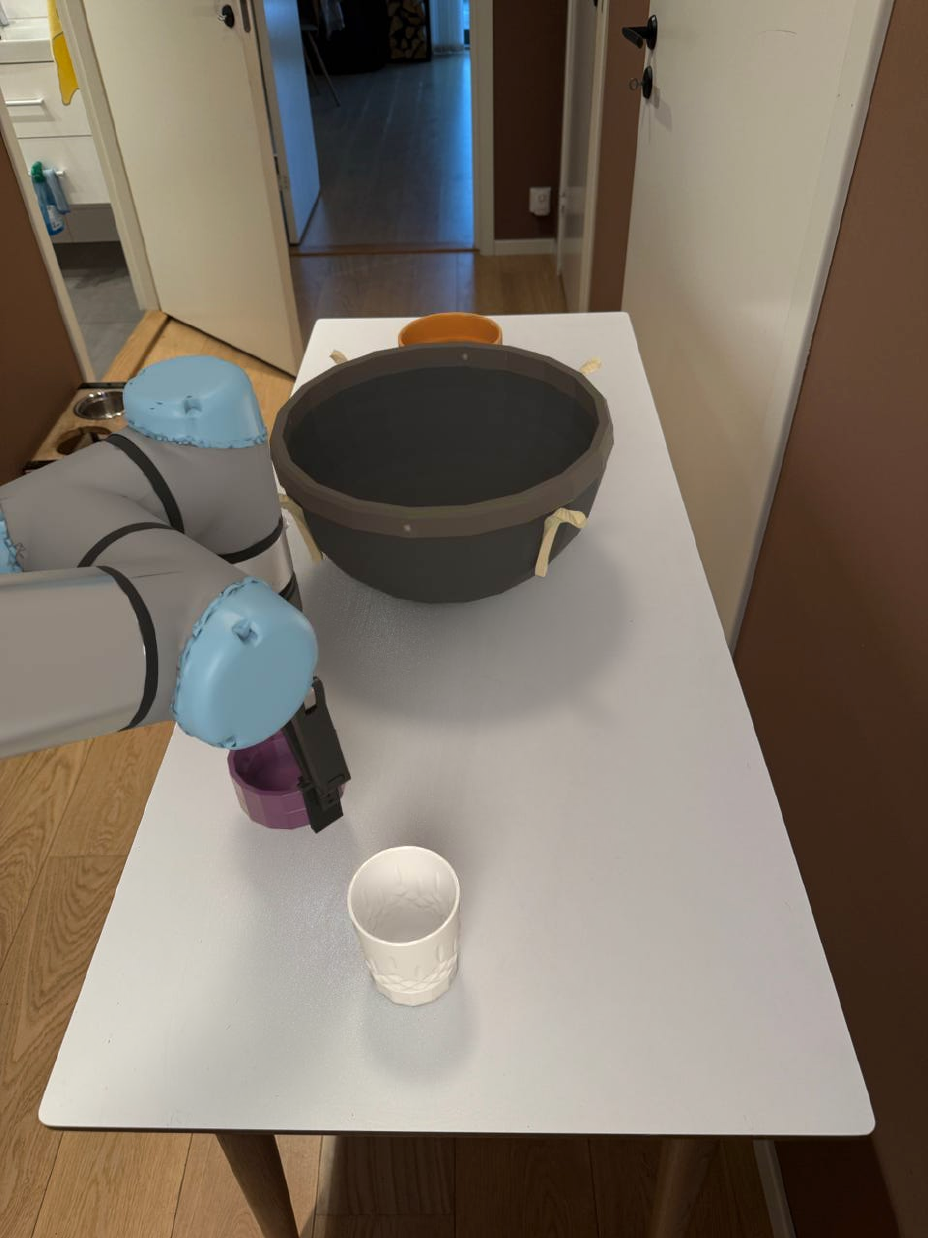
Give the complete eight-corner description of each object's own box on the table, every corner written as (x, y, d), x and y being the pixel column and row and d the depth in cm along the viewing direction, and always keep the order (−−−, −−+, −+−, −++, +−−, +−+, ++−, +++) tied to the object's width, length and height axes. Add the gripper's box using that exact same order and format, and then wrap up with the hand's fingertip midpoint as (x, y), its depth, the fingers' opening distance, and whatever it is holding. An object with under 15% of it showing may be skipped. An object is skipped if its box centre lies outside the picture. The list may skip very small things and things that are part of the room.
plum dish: (276, 853, 74) (264, 815, 70) (220, 786, 79) (207, 748, 76) (367, 792, 78) (361, 754, 74) (309, 733, 83) (300, 694, 80)
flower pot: (397, 443, 129) (388, 356, 120) (414, 394, 139) (407, 310, 131) (498, 446, 127) (496, 358, 119) (507, 396, 138) (506, 312, 129)
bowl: (341, 477, 123) (319, 334, 110) (609, 490, 118) (620, 342, 105) (257, 662, 97) (215, 505, 84) (597, 689, 92) (609, 526, 79)
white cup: (466, 1013, 68) (460, 943, 62) (359, 1016, 68) (342, 947, 62) (464, 916, 74) (458, 843, 67) (366, 920, 74) (351, 847, 68)
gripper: (378, 635, 59) (408, 842, 74) (211, 495, 71) (266, 695, 86) (277, 693, 55) (330, 898, 70) (121, 535, 68) (194, 737, 83)
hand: (295, 786), depth 78 cm, fingers closed on plum dish, 9 cm apart
